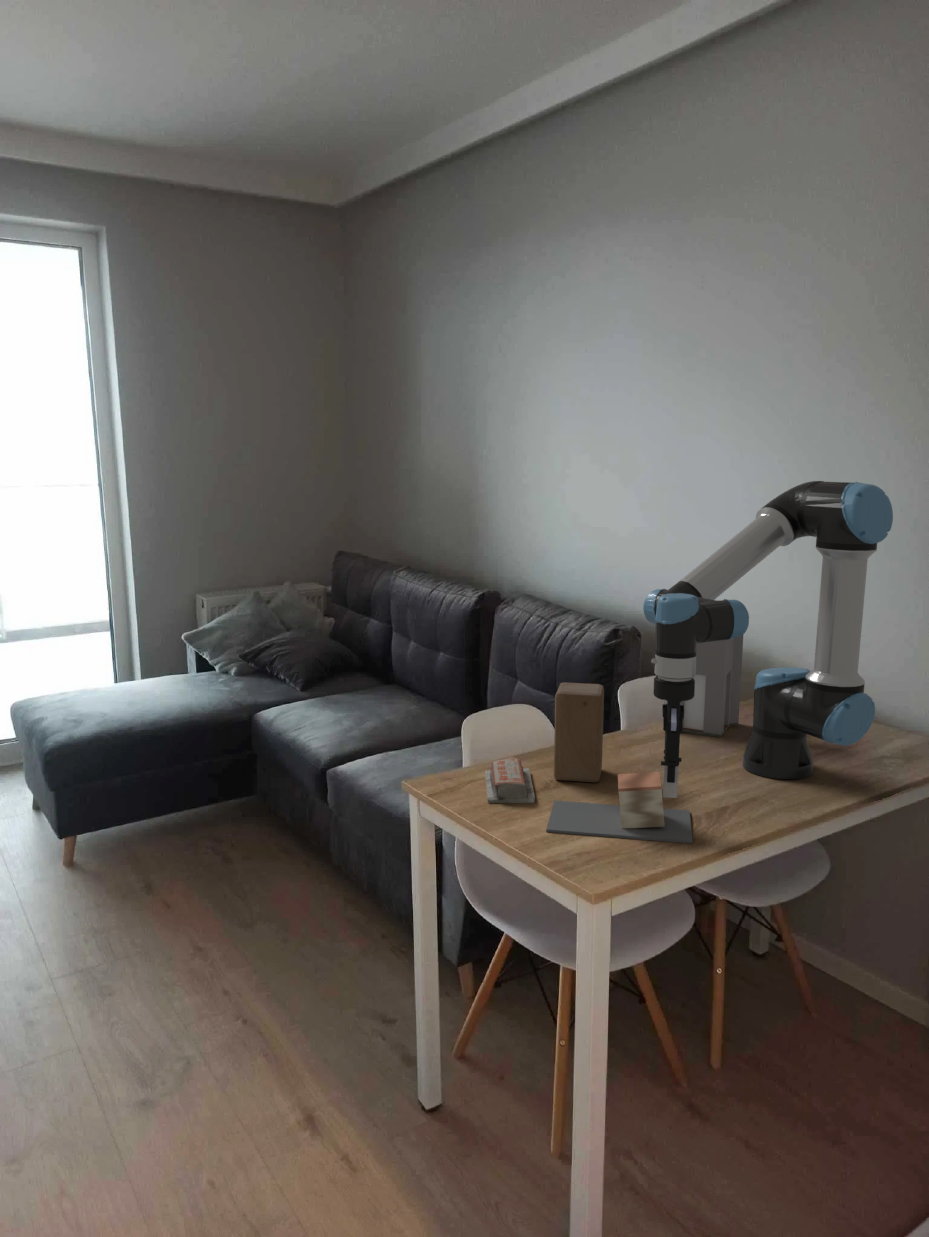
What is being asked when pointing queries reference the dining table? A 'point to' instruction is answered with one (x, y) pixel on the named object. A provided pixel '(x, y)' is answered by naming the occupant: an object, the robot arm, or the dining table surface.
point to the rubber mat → (615, 822)
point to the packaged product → (509, 782)
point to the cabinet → (715, 688)
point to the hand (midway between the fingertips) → (669, 796)
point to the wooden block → (578, 732)
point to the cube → (640, 800)
